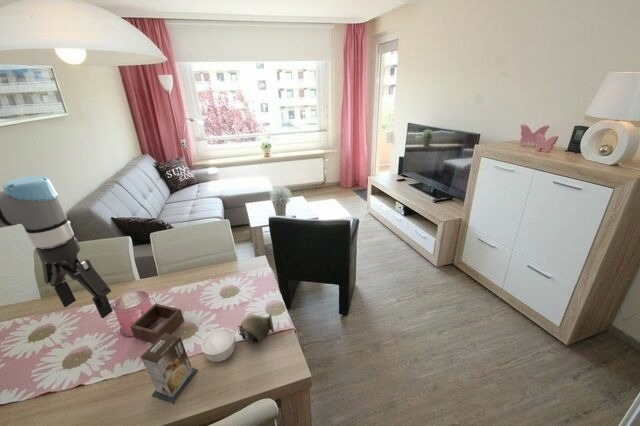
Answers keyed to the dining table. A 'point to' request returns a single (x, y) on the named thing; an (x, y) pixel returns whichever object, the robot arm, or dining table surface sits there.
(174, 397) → the mat
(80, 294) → the dining table surface
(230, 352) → the ramekin
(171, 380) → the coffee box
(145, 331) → the holder
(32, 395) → the dining table surface
